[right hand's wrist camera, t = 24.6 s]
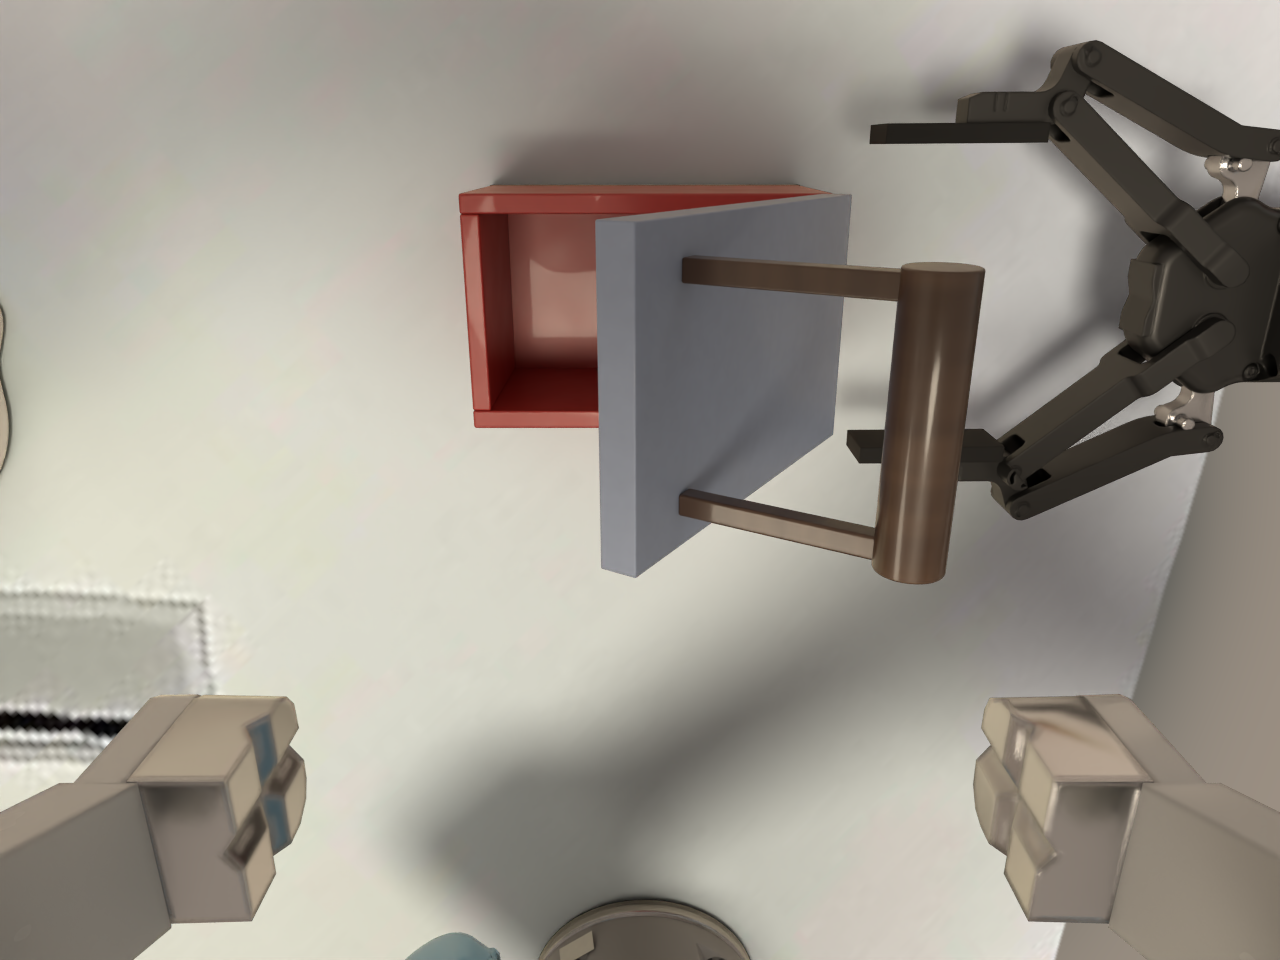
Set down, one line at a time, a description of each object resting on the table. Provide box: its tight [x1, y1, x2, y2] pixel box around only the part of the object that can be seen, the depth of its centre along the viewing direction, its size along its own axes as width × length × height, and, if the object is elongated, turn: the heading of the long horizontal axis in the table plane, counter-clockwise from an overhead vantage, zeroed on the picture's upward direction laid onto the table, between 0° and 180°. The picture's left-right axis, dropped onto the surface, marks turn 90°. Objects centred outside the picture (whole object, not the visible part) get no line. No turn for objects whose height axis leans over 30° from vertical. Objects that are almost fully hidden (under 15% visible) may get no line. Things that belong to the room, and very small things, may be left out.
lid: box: [595, 194, 985, 584], centre depth 28 cm, size 16×10×9 cm
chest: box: [459, 185, 832, 428], centre depth 41 cm, size 15×10×9 cm, turn 90°
